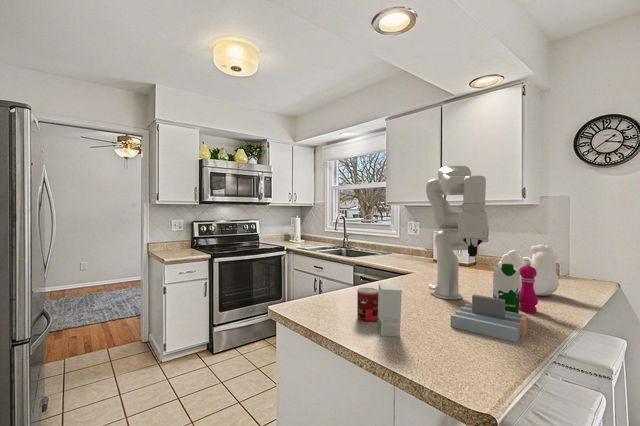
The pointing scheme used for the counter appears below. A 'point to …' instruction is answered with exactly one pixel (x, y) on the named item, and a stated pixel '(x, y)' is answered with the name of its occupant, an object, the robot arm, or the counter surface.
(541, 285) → the decorative rooster
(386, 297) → the skincare box
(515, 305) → the milk carton
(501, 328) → the rack
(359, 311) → the canned food
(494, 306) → the panel
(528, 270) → the pepper mill
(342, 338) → the counter surface
